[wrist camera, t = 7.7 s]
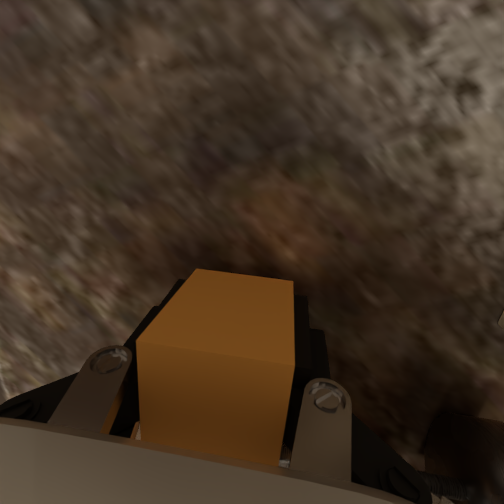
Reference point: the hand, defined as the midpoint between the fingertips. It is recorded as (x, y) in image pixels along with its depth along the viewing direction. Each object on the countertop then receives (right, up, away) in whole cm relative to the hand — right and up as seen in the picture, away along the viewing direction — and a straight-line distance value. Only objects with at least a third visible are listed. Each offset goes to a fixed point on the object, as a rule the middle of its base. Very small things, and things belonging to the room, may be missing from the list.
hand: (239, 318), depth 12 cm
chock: (0, 0, 0) cm, 1 cm away
